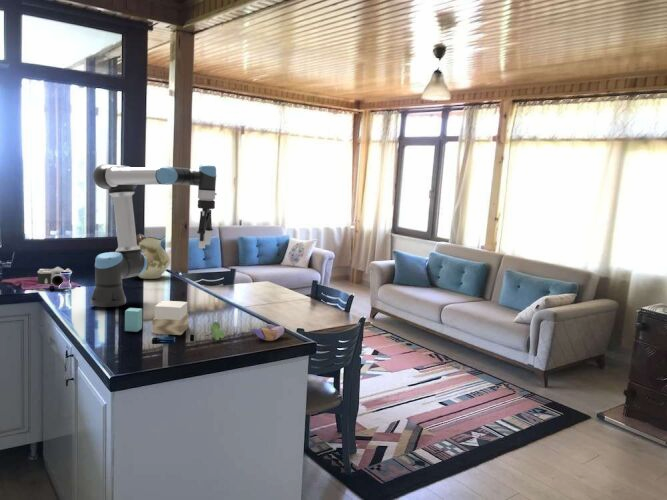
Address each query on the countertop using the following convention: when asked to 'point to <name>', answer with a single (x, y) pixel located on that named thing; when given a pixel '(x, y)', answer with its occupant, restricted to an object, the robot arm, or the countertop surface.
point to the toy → (269, 332)
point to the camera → (51, 276)
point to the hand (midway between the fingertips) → (204, 246)
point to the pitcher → (153, 256)
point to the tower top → (171, 310)
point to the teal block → (133, 319)
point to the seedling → (216, 331)
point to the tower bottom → (170, 326)
